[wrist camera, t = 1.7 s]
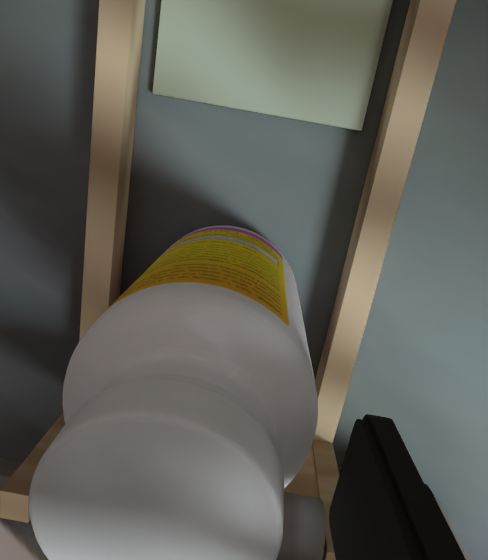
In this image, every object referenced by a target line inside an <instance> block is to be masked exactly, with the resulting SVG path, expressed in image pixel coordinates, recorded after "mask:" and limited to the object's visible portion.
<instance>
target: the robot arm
mask: <svg viewBox="0 0 488 560" xmlns="http://www.w3.org/2000/svg"><path fill="white" fill-rule="evenodd" d="M329 526H330V532H331V537H332V542H333V548H334V553H335V558H336V560H466V559H465V557H464V555H463V553H462V551H461V549H460V547H459V545H458V543H457V541H456V539H455V537H454V535H453V533H452V531H451V529H450V527H449V525H448V523H447V521H446V519H445V517H444V515H443V513H442V511H441V509H440V507H439V505H438V503H437V501H436V499H435V497H434V495H433V493H432V491H431V490H430V488H429V487H428V486H427V485H426V484H424V483H423V481H422V479H421V477H420V475H419V473H418V471H417V469H416V467H415V465H414V463H413V461H412V459H411V457H410V455H409V452H408V450H407V448H406V446H405V444H404V442H403V440H402V438H401V436H400V434H399V432H398V430H397V428H396V426H395V424H394V422H393V421H392V419H390V418H386V417H380V416H374V415H368V414H367V415H365V416H364V418H363V420H361V419H357V420H356V421H355V424H354V427H353V430H352V434H351V437H350V441H349V444H348V448H347V451H346V454H345V458H344V461H343V465H342V468H341V472H340V475H339V478H338V482H337V485H336V489H335V492H334V496H333V499H332V502H331V506H330V511H329Z"/></svg>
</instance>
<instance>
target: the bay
mask: <svg viewBox="0 0 488 560" xmlns="http://www.w3.org/2000/svg"><path fill="white" fill-rule="evenodd" d="M392 2H393V0H162V1H161V11H160V21H159V32H158V42H157V52H156V62H155V73H154V83H153V94H155V95H161V96H166V97H172V98H177V99H183V100H189V101H194V102H200V103H205V104H211V105H217V106H222V107H228V108H233V109H239V110H245V111H250V112H256V113H261V114H267V115H273V116H278V117H284V118H289V119H295V120H301V121H306V122H312V123H317V124H323V125H329V126H334V127H340V128H345V129H351V130H357V131H362V127H363V123H364V119H365V114H366V110H367V106H368V102H369V98H370V94H371V90H372V85H373V81H374V77H375V73H376V69H377V65H378V60H379V56H380V52H381V48H382V44H383V40H384V35H385V31H386V27H387V23H388V19H389V15H390V10H391V6H392ZM145 3H146V0H99V17H98V34H97V50H96V67H95V84H94V101H93V118H92V135H91V152H90V169H89V186H88V203H87V220H86V236H85V253H84V270H83V287H82V304H81V321H80V338H79V341H80V340H81V338H82V337H83V335H84V334H85V332H86V331H87V330H88V329H89V328H90V327H91V326H92V324H93V323H94V322H95V321H96V320H97V319H98V318H99V317H100V316H101V315H102V314H103V312H104V311H105V310H106V309H107V308H109V307H110V306H111V305H112V304H113V303H114V302H115V301H116V300H117V299H118V298H119V297H120V288H121V277H122V265H123V254H124V243H125V231H126V220H127V208H128V197H129V186H130V174H131V163H132V151H133V140H134V129H135V117H136V106H137V94H138V83H139V72H140V60H141V49H142V37H143V26H144V15H145ZM455 4H456V0H410V4H409V8H408V12H407V16H406V20H405V24H404V28H403V32H402V36H401V40H400V44H399V48H398V52H397V56H396V60H395V64H394V68H393V72H392V76H391V80H390V84H389V88H388V92H387V96H386V100H385V104H384V108H383V112H382V116H381V120H380V124H379V128H378V132H377V136H376V140H375V144H374V148H373V152H372V156H371V160H370V164H369V168H368V172H367V176H366V179H365V183H364V187H363V191H362V195H361V199H360V203H359V207H358V211H357V215H356V219H355V223H354V227H353V231H352V235H351V239H350V243H349V247H348V251H347V255H346V259H345V263H344V267H343V271H342V275H341V279H340V283H339V287H338V291H337V295H336V299H335V303H334V307H333V311H332V315H331V319H330V323H329V327H328V331H327V335H326V339H325V343H324V347H323V351H322V355H321V359H320V363H319V367H318V371H317V374H316V378H315V385H316V391H317V399H318V420H317V427H316V432H315V436H314V439H313V443H312V446H311V449H310V451H309V454H308V456H307V458H306V460H305V462H304V463H303V465H302V467H301V469H300V470H299V472H298V473H297V474H296V476H295V477H294V479H293V480H292V481H291V482H290V483H289V484H288V485H287V486H286V487H285V488H284V522H283V538H282V543H281V547H280V551H279V554H278V556H277V559H276V560H336V558H335V553H334V548H333V542H332V537H331V532H330V526H329V511H330V506H331V502H332V499H333V496H334V492H335V489H336V485H337V482H338V478H339V471H338V466H337V461H336V457H335V452H334V447H333V440H334V436H335V433H336V429H337V426H338V422H339V419H340V415H341V411H342V408H343V404H344V401H345V397H346V394H347V390H348V386H349V383H350V379H351V376H352V372H353V368H354V365H355V361H356V358H357V354H358V351H359V347H360V343H361V340H362V336H363V333H364V329H365V326H366V322H367V318H368V315H369V311H370V308H371V304H372V301H373V297H374V293H375V290H376V286H377V283H378V279H379V276H380V272H381V268H382V265H383V261H384V258H385V254H386V250H387V247H388V243H389V240H390V236H391V233H392V229H393V225H394V222H395V218H396V215H397V211H398V208H399V204H400V200H401V197H402V193H403V190H404V186H405V183H406V179H407V175H408V172H409V168H410V165H411V161H412V158H413V154H414V150H415V147H416V143H417V140H418V136H419V132H420V129H421V125H422V122H423V118H424V115H425V111H426V107H427V104H428V100H429V97H430V93H431V90H432V86H433V82H434V79H435V75H436V72H437V68H438V65H439V61H440V57H441V54H442V50H443V47H444V43H445V39H446V36H447V32H448V29H449V25H450V22H451V18H452V14H453V11H454V7H455ZM64 425H65V421H64V413H62V414H61V415H60V416H59V418H58V419H57V420H56V421H55V423H54V424H53V425H52V426H51V428H50V429H49V430H48V431H47V433H46V434H45V435H44V436H43V438H42V439H41V440H40V441H39V443H38V444H37V445H36V446H35V448H34V449H33V450H32V451H31V453H30V454H29V455H28V456H27V458H26V459H25V460H24V461H23V462H20V461H15V460H10V459H4V458H0V518H5V519H10V520H15V521H21V522H26V523H28V522H29V521H30V514H29V491H30V486H31V482H32V478H33V475H34V472H35V470H36V468H37V466H38V463H39V461H40V460H41V458H42V456H43V455H44V453H45V452H46V450H47V449H48V448H49V446H50V445H51V443H52V442H53V441H54V439H55V438H56V436H57V435H58V434H59V432H60V431H61V429H62V428H63V427H64Z"/></svg>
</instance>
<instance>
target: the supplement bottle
mask: <svg viewBox="0 0 488 560" xmlns="http://www.w3.org/2000/svg"><path fill="white" fill-rule="evenodd" d="M63 413H64V421H65V425H64V427H63V428H62V429H61V431H60V432H59V434H58V435H57V436H56V438H55V439H54V441H53V442H52V443H51V445H50V446H49V448H48V449H47V450H46V452H45V453H44V455H43V456H42V458H41V460H40V461H39V463H38V466H37V468H36V470H35V472H34V475H33V478H32V482H31V486H30V491H29V514H30V519H31V523H32V527H33V531H34V534H35V537H36V540H37V542H38V543H39V545H40V547H41V549H42V551H43V552H44V554H45V555H46V557H47V558H48V560H276V559H277V556H278V554H279V551H280V547H281V543H282V538H283V522H284V488H285V487H286V486H287V485H288V484H289V483H290V482H291V481H292V480H293V479H294V477H295V476H296V474H297V473H298V472H299V470H300V469H301V467H302V465H303V463H304V462H305V460H306V458H307V456H308V454H309V451H310V449H311V446H312V443H313V439H314V436H315V432H316V427H317V420H318V399H317V391H316V385H315V378H314V373H313V368H312V363H311V358H310V354H309V349H308V344H307V338H306V332H305V327H304V321H303V316H302V311H301V306H300V300H299V295H298V291H297V286H296V282H295V278H294V275H293V272H292V270H291V267H290V265H289V264H288V262H287V260H286V259H285V257H284V256H283V255H282V253H281V252H280V251H279V250H278V249H277V248H276V247H275V246H274V245H273V244H272V243H271V242H270V241H268V240H267V239H265V238H264V237H262V236H260V235H259V234H257V233H255V232H253V231H250V230H247V229H244V228H240V227H235V226H224V225H220V226H209V227H205V228H201V229H198V230H195V231H193V232H191V233H189V234H187V235H185V236H183V237H182V238H180V239H179V240H177V241H176V242H175V243H174V244H172V245H171V246H170V247H169V248H168V249H167V250H166V251H165V252H164V253H163V254H162V255H161V256H160V257H159V258H158V259H157V260H156V261H155V262H154V263H153V264H152V265H151V266H150V267H149V268H148V269H147V270H146V271H145V272H144V273H143V274H142V275H141V276H140V277H139V278H138V279H137V280H136V281H135V282H134V283H133V284H132V285H131V286H130V287H129V288H128V289H127V290H126V291H125V292H124V293H123V294H122V295H121V296H120V297H119V298H118V299H117V300H116V301H115V302H114V303H113V304H112V305H111V306H110V307H109V308H107V309H106V310H105V311H104V312H103V314H102V315H101V316H100V317H99V318H98V319H97V320H96V321H95V322H94V323H93V324H92V326H91V327H90V328H89V329H88V330H87V331H86V332H85V334H84V335H83V337H82V338H81V340H80V341H79V343H78V345H77V346H76V348H75V350H74V352H73V354H72V357H71V359H70V361H69V364H68V367H67V371H66V375H65V380H64V384H63Z"/></svg>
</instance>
